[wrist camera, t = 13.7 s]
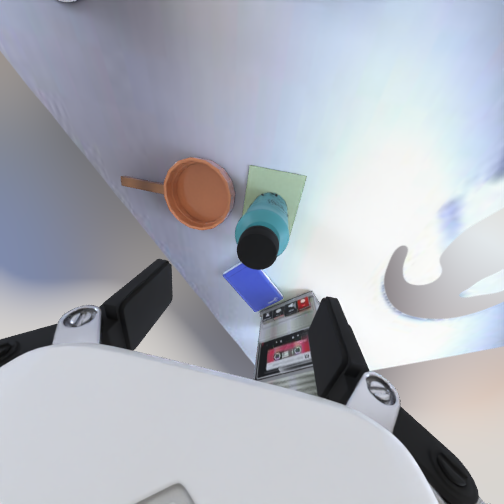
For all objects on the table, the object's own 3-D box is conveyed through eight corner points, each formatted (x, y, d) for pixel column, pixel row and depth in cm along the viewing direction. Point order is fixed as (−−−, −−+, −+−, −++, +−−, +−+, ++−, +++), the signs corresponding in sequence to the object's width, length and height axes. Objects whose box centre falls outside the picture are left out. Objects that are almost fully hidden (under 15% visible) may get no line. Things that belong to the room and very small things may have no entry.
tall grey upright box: (311, 289, 42) (345, 434, 20) (323, 308, 44) (366, 461, 21) (259, 310, 47) (239, 446, 24) (272, 326, 48) (264, 467, 26)
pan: (174, 217, 39) (165, 222, 36) (173, 152, 34) (162, 151, 30) (230, 229, 38) (226, 235, 35) (239, 165, 33) (234, 165, 30)
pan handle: (126, 184, 35) (121, 185, 34) (125, 175, 34) (120, 176, 33) (168, 193, 35) (165, 194, 34) (168, 184, 34) (165, 185, 33)
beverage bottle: (278, 229, 37) (276, 293, 19) (247, 216, 36) (214, 268, 19) (293, 197, 34) (307, 237, 16) (259, 183, 33) (234, 207, 16)
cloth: (239, 233, 38) (239, 234, 38) (250, 165, 33) (249, 165, 32) (287, 243, 38) (287, 244, 38) (306, 176, 32) (306, 176, 32)
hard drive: (283, 299, 42) (250, 258, 39) (254, 312, 45) (221, 276, 42) (283, 294, 44) (251, 254, 40) (255, 308, 47) (223, 272, 43)
